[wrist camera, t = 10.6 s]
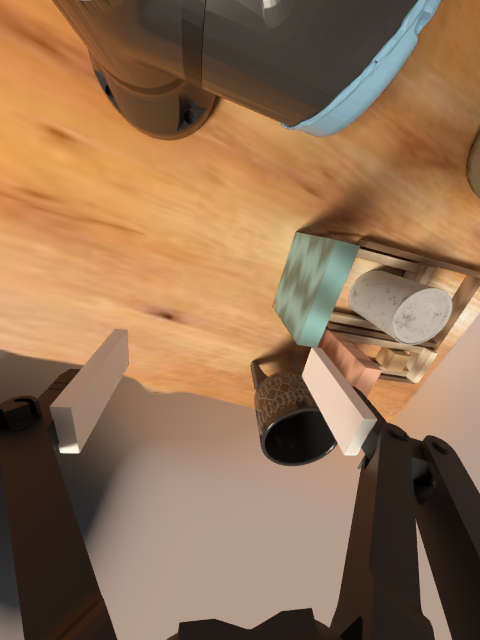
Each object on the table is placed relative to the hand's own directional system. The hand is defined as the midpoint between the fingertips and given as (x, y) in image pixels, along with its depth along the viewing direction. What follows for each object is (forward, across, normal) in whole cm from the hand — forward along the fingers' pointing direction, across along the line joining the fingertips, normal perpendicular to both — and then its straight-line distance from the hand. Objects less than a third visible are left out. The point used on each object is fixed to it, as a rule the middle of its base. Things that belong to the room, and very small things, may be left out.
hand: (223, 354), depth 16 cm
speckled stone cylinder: (+27, +31, 0) cm, 41 cm away
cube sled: (+27, +36, -13) cm, 47 cm away
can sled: (+27, +25, 0) cm, 37 cm away
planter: (+27, +15, -20) cm, 37 cm away
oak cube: (+27, +41, -14) cm, 51 cm away
